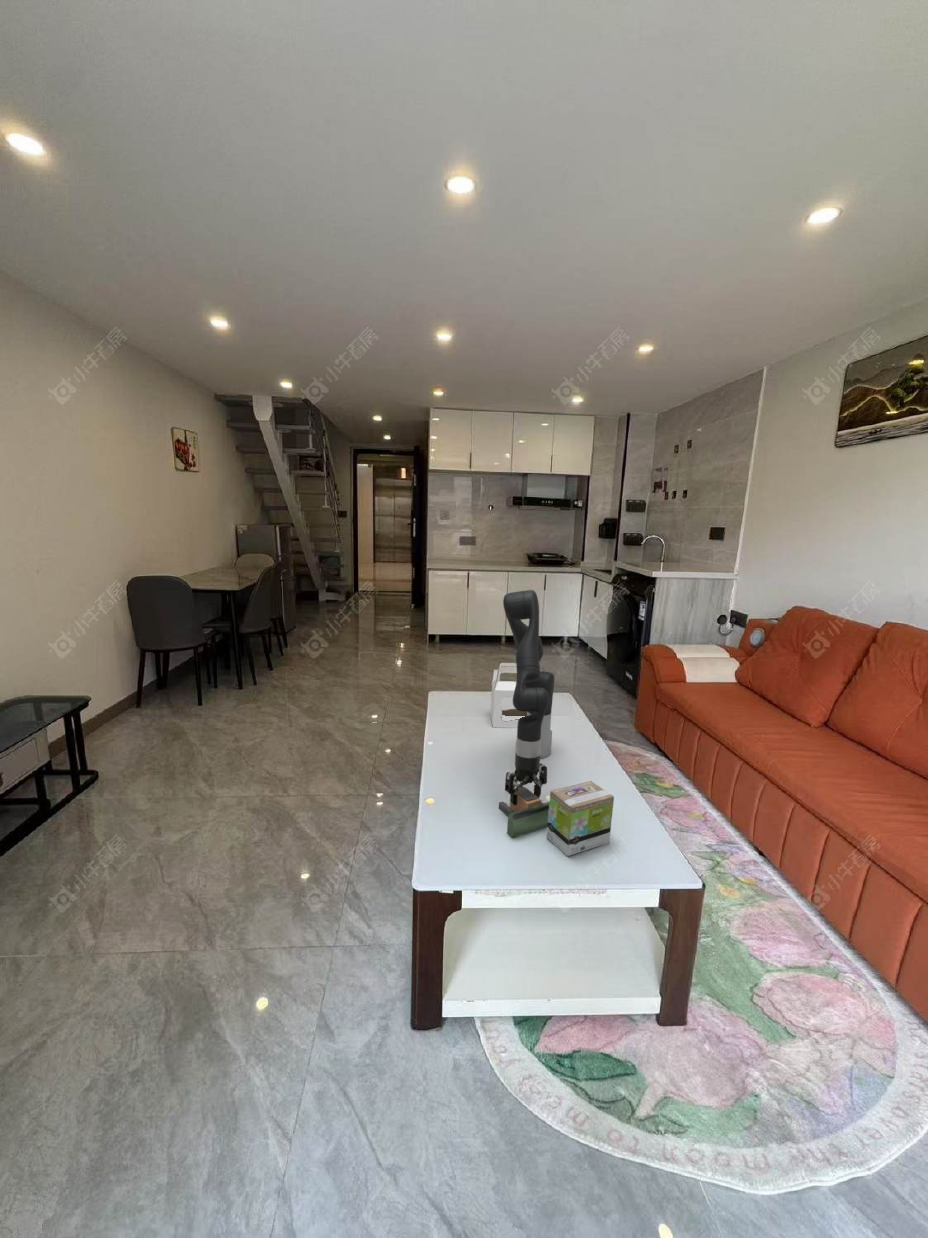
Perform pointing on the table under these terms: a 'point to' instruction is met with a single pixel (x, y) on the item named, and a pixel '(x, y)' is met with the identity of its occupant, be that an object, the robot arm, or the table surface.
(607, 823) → the tea box
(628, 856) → the table surface
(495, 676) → the gable box
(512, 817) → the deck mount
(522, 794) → the framed panel box
